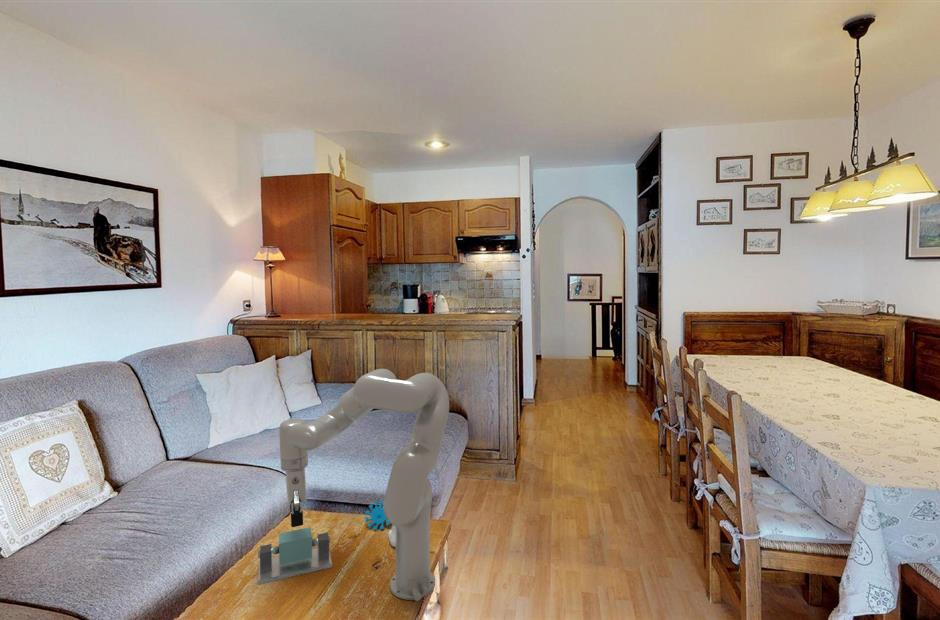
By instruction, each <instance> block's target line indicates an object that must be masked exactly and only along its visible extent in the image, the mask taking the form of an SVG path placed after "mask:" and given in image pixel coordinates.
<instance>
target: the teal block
mask: <svg viewBox="0 0 940 620" xmlns="http://www.w3.org/2000/svg"><path fill="white" fill-rule="evenodd" d="M312 534H313V533H312V528H311V527H304V528H299V529H294V530H289V531H284V532H279V533H278V546H279V554H278V556H279V565H284V564H288V563H293V562H297V561H301V560H306V559H310V558H312V549H313V547H312V539H313V535H312Z"/></svg>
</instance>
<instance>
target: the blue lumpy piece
mask: <svg viewBox="0 0 940 620" xmlns="http://www.w3.org/2000/svg"><path fill="white" fill-rule="evenodd" d="M383 503H384V499H383V500H381V503H380V505H379V500H376V501H374V504H375V506H374V505H373V504H369V505H368V508H369V509H370V510H371V512H370V511H369V509H368V510H365V512H364V513H365V515H366V517H365V518H364V519H365V520H364V521H365V523H367V526H368V528H369V529H370V528H372V529H373V530H374V531H377V530H378V527H379V529H380V530H381V531H382V530H385V527H384V525H386V527H388V526H390V525H391V523H390V522H389V521H388V520H387V518H386V517H385V514H384V510H383ZM378 505H379V506H378ZM368 516H370V517H368ZM370 521H372V522H370ZM385 522H386V523H385ZM375 524H376V525H375ZM373 525H374V526H373ZM379 525H380V526H379ZM372 526H373V527H372Z"/></svg>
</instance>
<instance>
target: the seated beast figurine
mask: <svg viewBox="0 0 940 620" xmlns="http://www.w3.org/2000/svg"><path fill="white" fill-rule="evenodd" d="M391 525H392V524H391ZM387 535H388V536H387V537H388V540H389V543H390V545H391V546H392V547H393V548H396V526H394V525H392V526H391V529H389V530H388V533H387Z"/></svg>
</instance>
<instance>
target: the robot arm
mask: <svg viewBox="0 0 940 620" xmlns="http://www.w3.org/2000/svg"><path fill="white" fill-rule="evenodd" d="M374 409H375V410H376V409H377V410H381V411H388V412H393V413H400V414H401V413H402V414H414V413H417V412H418V413H417V416H416V418H415V421H414V425H413V430H412V434H411V436H410V439H409V442H408V444H407V445H406V447H405V448H404V449H402V451H401V452H400V453H399V454H398V455H397V457H396V458H395V460H394V462H393V464H392V468H391V471H390V475H389V479H388V482H387V485H386V490H385V494H384V497H383V500H384V503H383V505H382V507H383V510H384V514H385V517H386V518H387V520H388V521H389V522H390V525H394V526H396V547H395V573H394V575H393V576H392V577H391V579H390V582H389V588H390V592H391V593H392V594H393V595H394V596H395V597H396V598H399V599H401V600H402V599H403V600H405V601H406V600H408V601H409V600H410V601H411V600H412V601H414V600H415V601H416V602H418V601H420V600H421V599H422V598H424V597H426V596H428V595H429V594H431V592H433V590H434V589H435V586H436V578H435V575H434V574H433V572H431V570H430V566H431V564H430V563H431V561H430V560H431V559H430V557H431V556H430V552H431V551H430V550H431V549H430V548H431V547H430V545H431V543H430V541H431V540H430V539H431V537H430V535H431V533H430V532H431V510H432V509H431V508H432V501H433V486H432V482H431V481H430V479H429V477H430V475H431V474H432V472H433V471H434V470H435V469H436V466H437V464H438V461H439V456H440V451H441V447H442V445H443V444H442V443H443V439H444V434H445V430H446V426H447V423H448V420H449V419H448V418H449V413H450V397H449V393H448V390H447V388H446V386H445V385H444V383H443V382H442V380H441V379H439V378H438V377H437V376H436V375H434V374H433V373H429V372H421V373H417V374H415V375H413V376H411V377H409V378H408V379H405V380H402V379H397V377H396V375H395V374H394V372H392V371H391V370H389V369H386V368H377V369H375V370H374V369H373V370H372V371H369V372H368V373H365V374H364V375H362V376H360V377H359V378H358V379H357V380H356V382H355V384H354V385H353V386H352V387H351V388H350V389H348V390H347V391H345V392H344V393H343V394H342V395H341V396H340V398H339V403H338V404H336V406H334V407H333V408H331V409H330V410H329V411H328V412H326V413H325V414H323V415H322V416H320V417H318V418H316V419H314V420H312V421H310V422H306V421H305V419H302V418H290V419H287V420H283V421H282V422H281V423H280V424H279V428H278V429H279V430H278V431H279V433H278V434H279V454H280V455H279V457H280V470H281V471H284V472H285V487H286V494H287V500H288V504H289V509H290V510H289V511H290V512H291V513H290V525H291V526H290V527H292V528H297V527H300V526H301V527H302V526H303V525H304V511H303V510H302V508H303V505H302V503H306V502H307V488H306V487H307V486H306V485H307V484H306V483H307V480H306V468H307V467H308V466H309V457H308V456H309V455H308V453H309V452H308V451H316V450H318V449H319V448H320V447H322V446H324V445H325V444H326V443H328V442H330V441H331V440H333V439H334V438H336V437H337V436H338V435H340V434H342V433H343V432H344V431H345V430H346V429H348V428H349V427H350V426H352V425H353V424H354V423H356V422H358V421H359V420H360V419H362V418H363V417H365V416H366V415H367V414H369V413H370V412H371V411H372V410H374Z"/></svg>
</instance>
